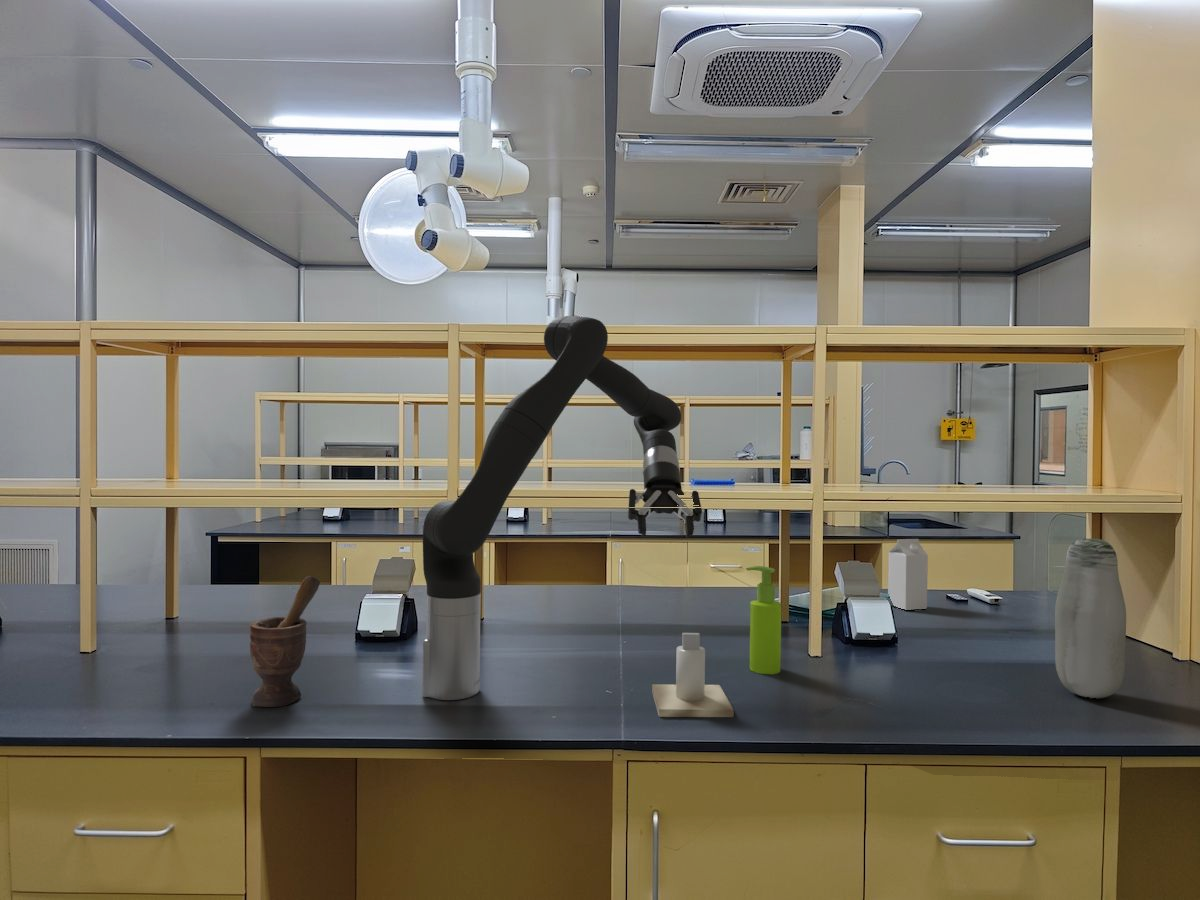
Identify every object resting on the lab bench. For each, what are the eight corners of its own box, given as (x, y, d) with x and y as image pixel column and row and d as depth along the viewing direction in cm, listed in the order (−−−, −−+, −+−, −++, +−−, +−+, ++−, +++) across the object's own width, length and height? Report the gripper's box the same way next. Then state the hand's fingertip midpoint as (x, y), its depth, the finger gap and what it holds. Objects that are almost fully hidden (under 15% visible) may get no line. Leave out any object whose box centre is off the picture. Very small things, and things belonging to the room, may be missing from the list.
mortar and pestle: (281, 684, 127) (283, 572, 127) (325, 687, 125) (327, 574, 125) (237, 707, 116) (239, 584, 115) (285, 711, 114) (287, 587, 114)
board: (659, 716, 114) (659, 709, 114) (651, 691, 126) (651, 684, 126) (733, 717, 114) (733, 709, 114) (719, 691, 126) (719, 684, 126)
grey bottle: (1111, 710, 120) (1114, 544, 119) (1045, 692, 128) (1047, 537, 128) (1133, 698, 125) (1135, 540, 125) (1068, 682, 134) (1070, 534, 134)
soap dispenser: (753, 662, 144) (754, 563, 144) (785, 669, 139) (786, 567, 139) (739, 668, 139) (740, 567, 139) (772, 676, 135) (773, 571, 135)
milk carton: (887, 606, 198) (888, 537, 198) (908, 604, 200) (909, 537, 200) (905, 611, 191) (906, 541, 191) (927, 610, 193) (928, 540, 193)
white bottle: (677, 701, 118) (678, 637, 118) (674, 691, 122) (675, 629, 122) (706, 701, 118) (707, 637, 118) (701, 691, 123) (702, 630, 123)
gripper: (628, 459, 144) (630, 521, 132) (698, 460, 144) (706, 523, 133) (626, 484, 149) (628, 546, 138) (693, 485, 149) (701, 547, 138)
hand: (666, 534), depth 135 cm, fingers open, 8 cm apart
